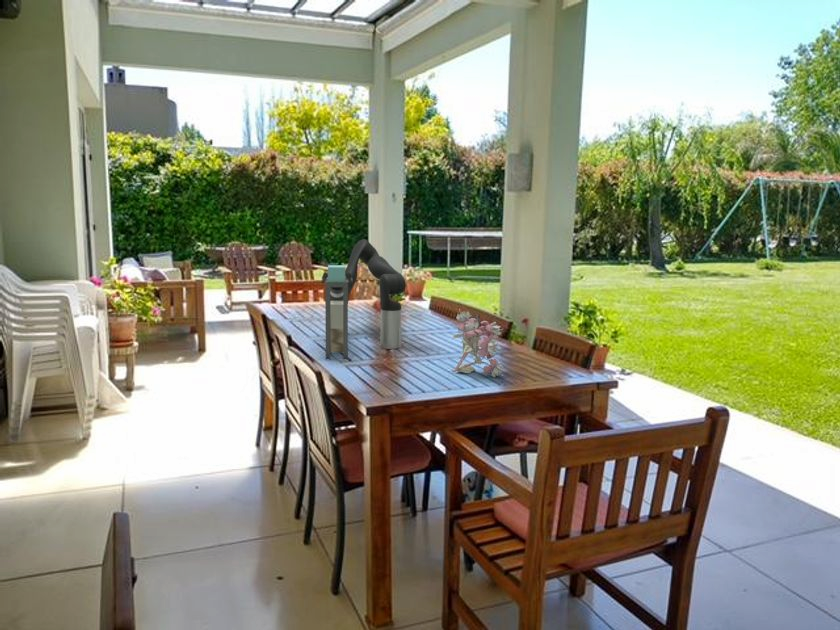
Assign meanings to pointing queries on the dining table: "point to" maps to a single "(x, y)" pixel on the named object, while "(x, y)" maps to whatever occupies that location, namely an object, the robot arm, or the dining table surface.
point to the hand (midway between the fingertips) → (336, 271)
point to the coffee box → (474, 334)
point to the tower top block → (336, 314)
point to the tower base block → (336, 340)
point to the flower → (485, 344)
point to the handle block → (336, 273)
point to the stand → (328, 316)
